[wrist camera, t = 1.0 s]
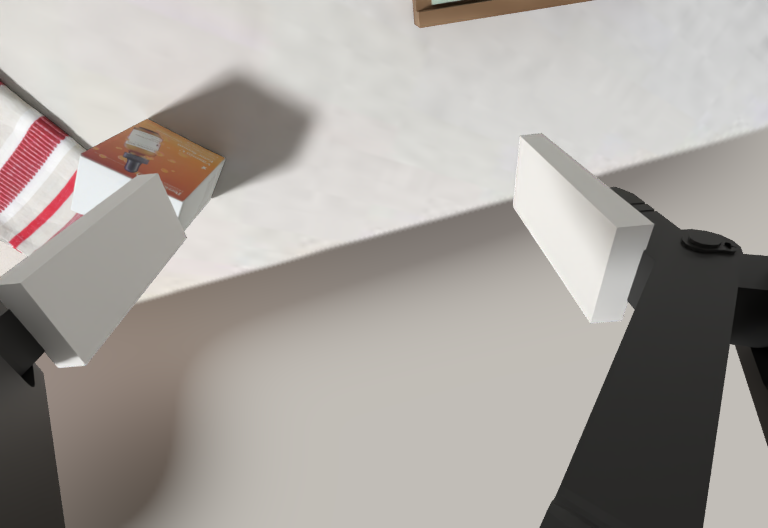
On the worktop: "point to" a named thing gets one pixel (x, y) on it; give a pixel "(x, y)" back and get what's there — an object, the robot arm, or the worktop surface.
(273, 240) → the worktop surface
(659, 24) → the worktop surface
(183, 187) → the small box
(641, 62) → the worktop surface
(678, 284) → the robot arm
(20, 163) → the dish towel
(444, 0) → the cover plate
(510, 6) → the wooden tray
